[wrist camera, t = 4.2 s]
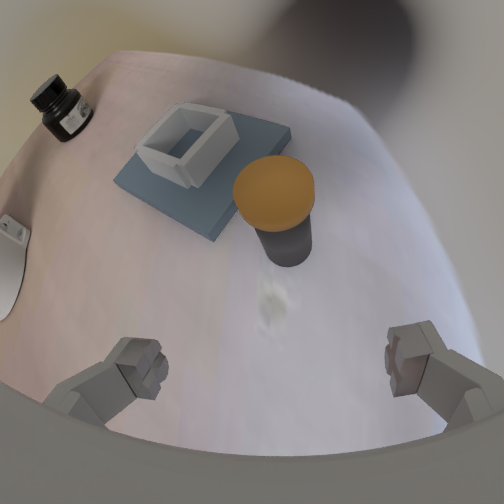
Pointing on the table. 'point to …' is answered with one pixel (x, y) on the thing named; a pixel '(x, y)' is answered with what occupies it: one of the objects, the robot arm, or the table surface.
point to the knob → (278, 206)
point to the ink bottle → (61, 108)
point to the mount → (198, 163)
